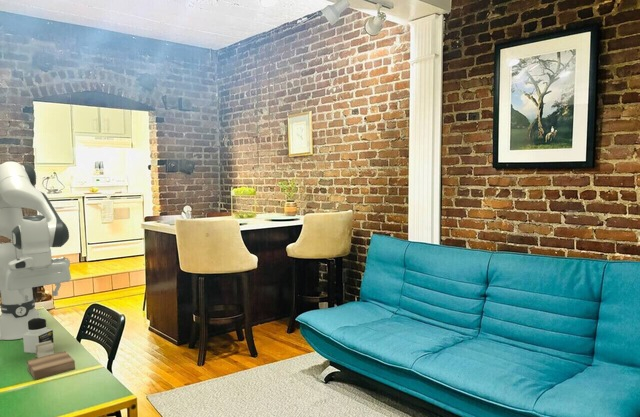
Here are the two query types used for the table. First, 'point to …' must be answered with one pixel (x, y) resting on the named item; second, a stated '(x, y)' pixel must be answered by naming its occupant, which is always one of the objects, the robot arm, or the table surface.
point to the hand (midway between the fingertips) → (40, 298)
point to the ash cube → (44, 349)
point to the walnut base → (50, 365)
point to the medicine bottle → (36, 334)
